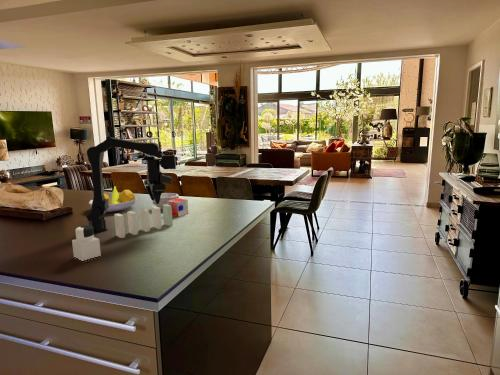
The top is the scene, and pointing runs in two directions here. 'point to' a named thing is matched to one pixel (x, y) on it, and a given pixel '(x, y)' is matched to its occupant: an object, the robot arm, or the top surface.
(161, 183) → the robot arm
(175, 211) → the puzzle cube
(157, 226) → the tile
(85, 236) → the white block with post
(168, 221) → the tile
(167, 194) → the paper bowls
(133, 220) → the tile
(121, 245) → the top surface
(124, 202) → the fruit bowl
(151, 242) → the top surface
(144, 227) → the tile
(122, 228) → the tile
